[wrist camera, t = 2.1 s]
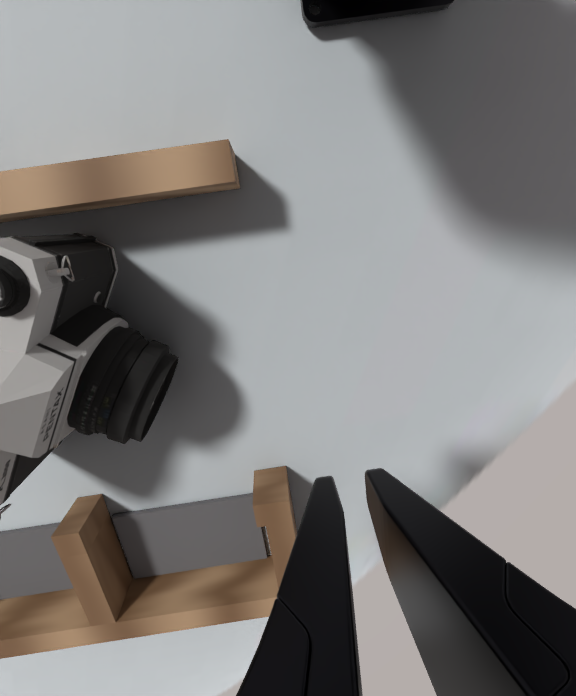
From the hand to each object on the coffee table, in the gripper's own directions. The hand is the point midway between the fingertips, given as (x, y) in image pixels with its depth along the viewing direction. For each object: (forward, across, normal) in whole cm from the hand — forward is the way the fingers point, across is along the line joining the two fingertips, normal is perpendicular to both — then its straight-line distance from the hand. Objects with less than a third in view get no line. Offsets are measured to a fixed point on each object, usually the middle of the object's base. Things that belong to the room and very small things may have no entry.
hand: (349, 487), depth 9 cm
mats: (+12, +14, +12) cm, 22 cm away
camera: (+12, +11, 0) cm, 16 cm away
